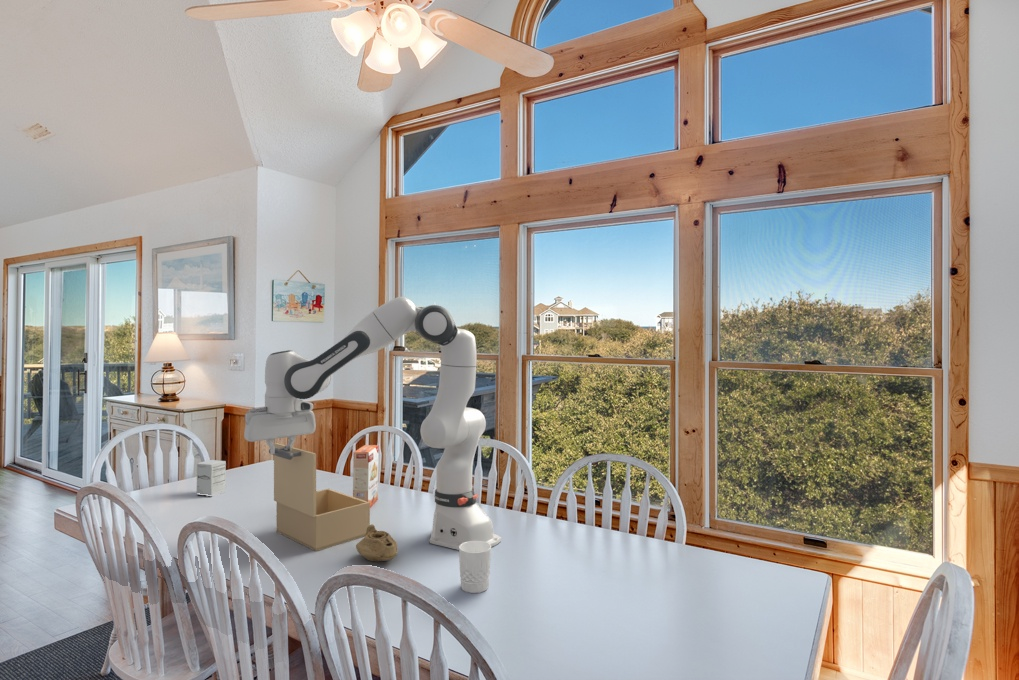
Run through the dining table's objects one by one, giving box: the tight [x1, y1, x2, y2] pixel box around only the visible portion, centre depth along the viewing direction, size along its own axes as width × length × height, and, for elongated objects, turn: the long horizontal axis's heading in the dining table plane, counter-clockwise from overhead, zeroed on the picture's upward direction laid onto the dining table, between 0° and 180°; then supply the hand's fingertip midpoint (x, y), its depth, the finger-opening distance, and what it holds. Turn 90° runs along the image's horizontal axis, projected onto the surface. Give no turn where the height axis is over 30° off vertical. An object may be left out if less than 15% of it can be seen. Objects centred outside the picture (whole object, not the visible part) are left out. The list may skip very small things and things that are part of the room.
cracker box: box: [352, 444, 380, 508], centre depth 202 cm, size 14×6×21 cm, turn 179°
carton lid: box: [268, 442, 317, 517], centre depth 164 cm, size 24×18×5 cm
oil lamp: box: [355, 524, 398, 562], centre depth 153 cm, size 11×15×8 cm
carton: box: [275, 488, 371, 552], centre depth 173 cm, size 24×18×10 cm
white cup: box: [458, 541, 492, 594], centre depth 136 cm, size 8×8×10 cm
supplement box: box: [196, 459, 227, 495], centre depth 216 cm, size 7×7×13 cm
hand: (281, 452), depth 163 cm, fingers open, 3 cm apart
